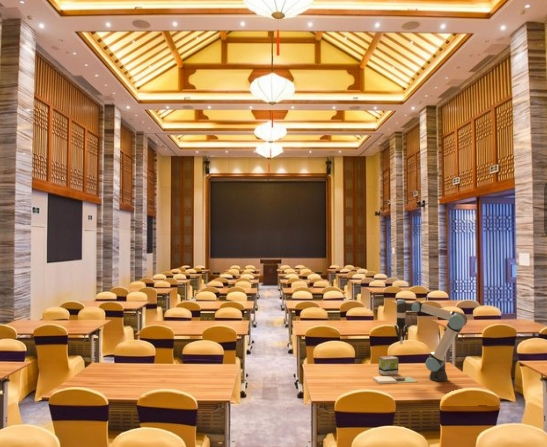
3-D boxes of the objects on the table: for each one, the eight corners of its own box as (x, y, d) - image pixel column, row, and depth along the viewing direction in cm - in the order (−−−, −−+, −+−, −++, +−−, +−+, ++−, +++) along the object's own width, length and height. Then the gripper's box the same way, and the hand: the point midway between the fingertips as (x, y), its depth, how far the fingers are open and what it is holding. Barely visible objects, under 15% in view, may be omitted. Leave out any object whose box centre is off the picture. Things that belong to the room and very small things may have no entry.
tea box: (384, 375, 432) (384, 359, 433) (378, 373, 441) (378, 356, 442) (398, 374, 438) (398, 357, 438) (392, 371, 447) (392, 355, 448)
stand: (390, 378, 424) (390, 376, 424) (396, 382, 410) (396, 380, 410) (372, 379, 421) (372, 376, 421) (378, 383, 408) (378, 381, 408)
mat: (410, 377, 427) (410, 377, 427) (417, 381, 413) (417, 381, 413) (391, 378, 424) (391, 377, 424) (397, 382, 410) (397, 382, 410)
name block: (402, 378, 422) (402, 376, 422) (405, 380, 416) (405, 378, 416) (392, 379, 420) (392, 376, 420) (395, 381, 414) (395, 378, 414)
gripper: (406, 316, 434) (406, 342, 433) (392, 316, 432) (392, 343, 431) (409, 317, 426) (409, 344, 425) (395, 318, 424) (395, 345, 423)
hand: (401, 344), depth 428 cm, fingers closed
